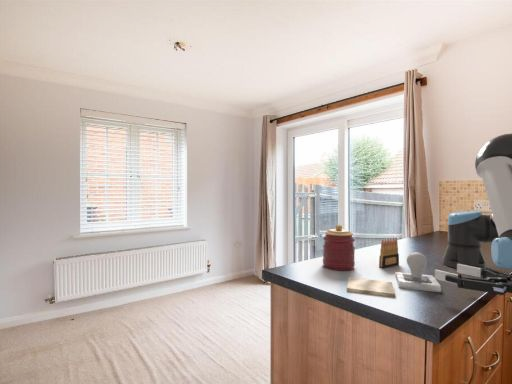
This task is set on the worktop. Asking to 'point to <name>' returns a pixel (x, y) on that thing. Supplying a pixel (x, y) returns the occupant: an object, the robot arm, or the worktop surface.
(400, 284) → the collar holder
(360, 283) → the birch board
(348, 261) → the canister
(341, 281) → the worktop surface
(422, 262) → the lightbulb
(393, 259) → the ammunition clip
